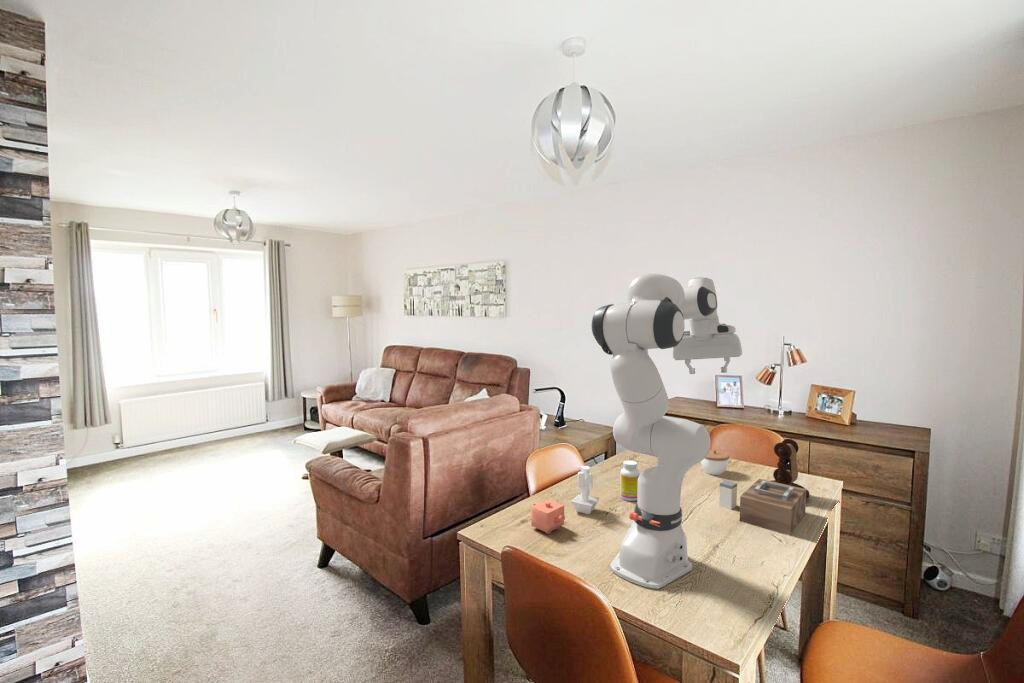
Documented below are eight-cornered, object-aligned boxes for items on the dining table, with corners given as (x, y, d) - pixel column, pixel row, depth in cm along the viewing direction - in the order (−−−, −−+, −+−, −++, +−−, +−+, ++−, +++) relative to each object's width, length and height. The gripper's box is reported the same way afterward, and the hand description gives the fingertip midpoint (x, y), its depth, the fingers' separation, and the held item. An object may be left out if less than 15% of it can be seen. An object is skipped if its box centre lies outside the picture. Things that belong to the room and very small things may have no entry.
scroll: (800, 508, 156) (803, 449, 154) (754, 495, 167) (756, 440, 165) (815, 496, 165) (817, 441, 164) (770, 484, 176) (772, 432, 175)
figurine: (600, 507, 158) (600, 464, 157) (590, 518, 150) (590, 472, 149) (580, 502, 162) (580, 460, 161) (569, 513, 154) (569, 469, 152)
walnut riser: (789, 535, 138) (791, 504, 137) (739, 520, 147) (740, 491, 146) (805, 513, 152) (806, 484, 151) (758, 501, 162) (759, 474, 161)
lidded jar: (733, 477, 184) (734, 454, 183) (706, 477, 184) (706, 454, 184) (721, 467, 195) (722, 445, 194) (695, 467, 195) (696, 446, 194)
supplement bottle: (640, 502, 162) (640, 466, 161) (620, 501, 163) (620, 465, 162) (638, 494, 168) (639, 459, 167) (620, 493, 170) (620, 458, 169)
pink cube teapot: (556, 540, 137) (555, 512, 136) (526, 526, 145) (526, 501, 144) (572, 531, 142) (572, 504, 141) (543, 518, 151) (542, 493, 150)
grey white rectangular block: (731, 509, 155) (731, 486, 155) (719, 505, 158) (719, 482, 158) (736, 506, 158) (737, 483, 157) (724, 502, 161) (725, 479, 160)
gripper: (668, 332, 151) (671, 375, 150) (737, 326, 140) (741, 372, 139) (673, 332, 156) (676, 373, 156) (740, 326, 145) (744, 371, 144)
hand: (708, 373), depth 147 cm, fingers open, 8 cm apart
